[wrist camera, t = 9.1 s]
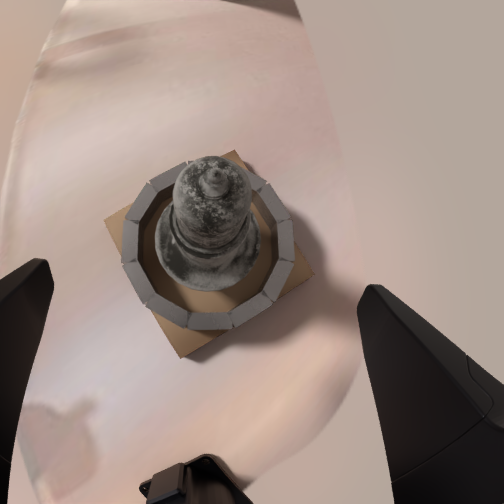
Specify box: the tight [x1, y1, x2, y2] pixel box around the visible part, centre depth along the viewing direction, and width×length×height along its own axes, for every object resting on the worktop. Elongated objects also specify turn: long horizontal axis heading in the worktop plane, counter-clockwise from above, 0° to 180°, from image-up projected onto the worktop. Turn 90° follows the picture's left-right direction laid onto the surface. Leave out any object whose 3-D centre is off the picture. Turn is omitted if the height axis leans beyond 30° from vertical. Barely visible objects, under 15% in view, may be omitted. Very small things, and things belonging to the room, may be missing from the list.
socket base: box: [104, 150, 315, 359], centre depth 20 cm, size 11×11×3 cm
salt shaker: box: [155, 156, 261, 292], centre depth 15 cm, size 6×6×12 cm
